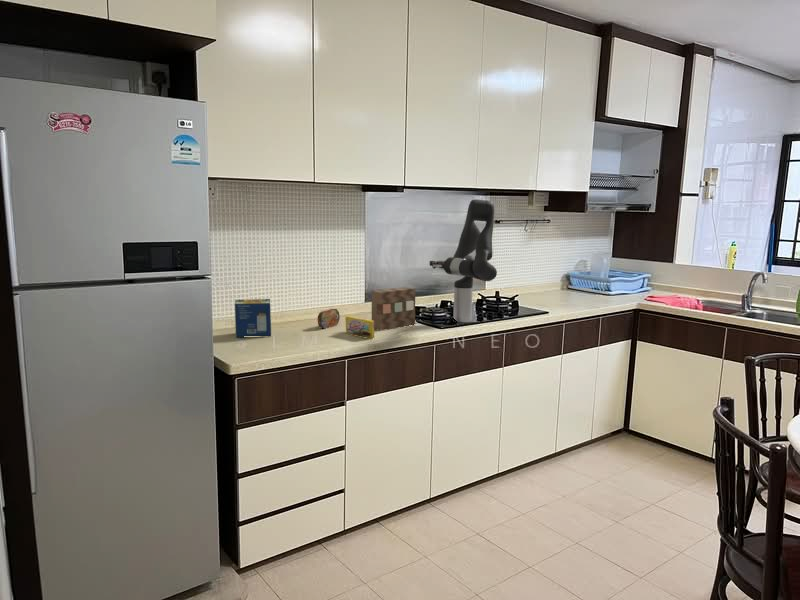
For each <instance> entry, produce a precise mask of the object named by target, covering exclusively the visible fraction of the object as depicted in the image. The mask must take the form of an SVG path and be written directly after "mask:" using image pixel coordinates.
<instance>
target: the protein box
mask: <svg viewBox="0 0 800 600" xmlns="http://www.w3.org/2000/svg"><path fill="white" fill-rule="evenodd" d="M271 310H272V309H271V299H270V298H259V299H258V298H255V299H253V298H252V299H235V301H234V319H235V321H234V323H235V325H234V326H235V338H236V337H244V336H271V337H272V315H271V314H272V313H271Z"/></svg>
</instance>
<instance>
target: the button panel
mask: <svg viewBox="0 0 800 600" xmlns="http://www.w3.org/2000/svg"><path fill="white" fill-rule="evenodd" d="M410 300H412V301H414V310H408V311H406V301H410ZM394 302H402V311H401V312H394ZM387 303H389V304H391V313H387V314H382V304H387ZM371 320H373V321H374V330H377V329H378V330H377V331H380V330H381V331H385V329H387V330H393V329H398V327H400V328H405V327H404V326H406V327H410V326H409V325H412V326H415V325H416V288H414V287H410V286H409V287H408V286H403V287H402V286H401V287H393V288H384V289H375V290H374V289H373V290H371ZM414 324H415V325H414ZM392 328H393V329H392Z"/></svg>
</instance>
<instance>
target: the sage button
mask: <svg viewBox="0 0 800 600" xmlns="http://www.w3.org/2000/svg"><path fill="white" fill-rule="evenodd" d="M401 311H402V302H394V312H401Z"/></svg>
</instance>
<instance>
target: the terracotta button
mask: <svg viewBox="0 0 800 600" xmlns="http://www.w3.org/2000/svg"><path fill="white" fill-rule="evenodd" d="M387 313H391V304H389V303H387V304H382V314H387Z"/></svg>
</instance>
